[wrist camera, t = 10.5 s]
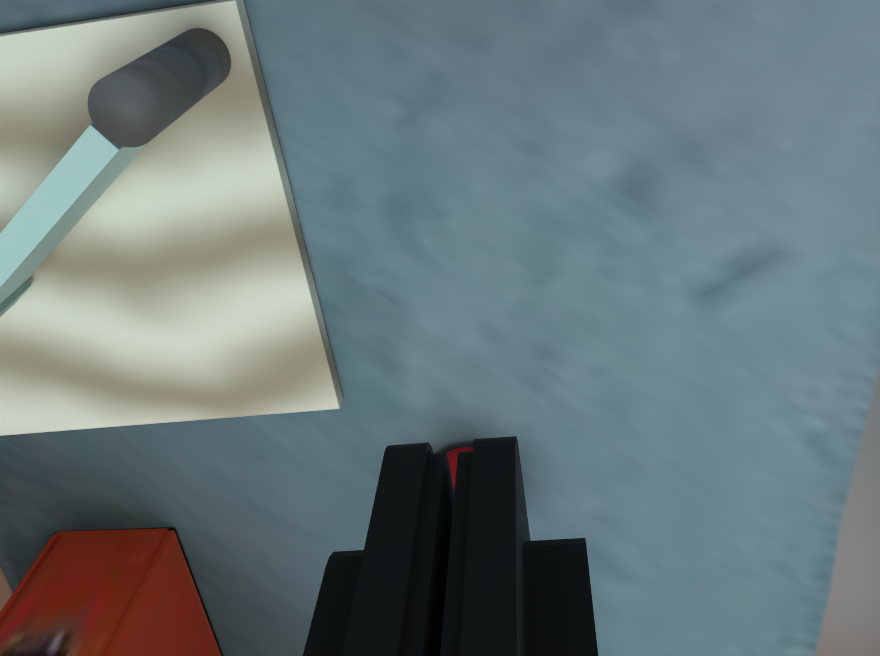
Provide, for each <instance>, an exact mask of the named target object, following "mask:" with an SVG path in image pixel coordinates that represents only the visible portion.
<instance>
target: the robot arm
mask: <svg viewBox="0 0 880 656" xmlns="http://www.w3.org/2000/svg"><path fill="white" fill-rule="evenodd" d="M303 656H598V650H597V641H596V631H595V622H594V613H593V604H592V594H591V585H590V576H589V566H588V557H587V548H586V540H585V538H577V539H559V540H540V541H530V534H529V526H528V518H527V511H526V503H525V495H524V487H523V479H522V471H521V464H520V456H519V448H518V441H517V437H516V436H514V437H500V438H486V439H474V442H473V451H464V452H459V453H458V457H457V468H456V479H455V490H454V487H453V481H452V476H451V470H450V465H449V460H448V456H447V454H446V453H435V454H433V451H432V447H431V445H430V443H417V444H404V445H390V446H387V447H386V449H385V453H384V457H383V462H382V467H381V471H380V476H379V481H378V486H377V491H376V495H375V500H374V505H373V510H372V514H371V519H370V524H369V529H368V533H367V538H366V543H365V548H364V550H357V551H339V552H333V553H332V554H331V556H330V557H329V560H328V562H327V565H326V568H325V572H324V576H323V580H322V584H321V588H320V591H319V595H318V599H317V603H316V607H315V611H314V615H313V619H312V622H311V626H310V630H309V634H308V638H307V642H306V646H305V650H304V653H303Z"/></svg>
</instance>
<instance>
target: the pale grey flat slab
mask: <svg viewBox="0 0 880 656" xmlns="http://www.w3.org/2000/svg"><path fill="white" fill-rule="evenodd" d="M145 145H146V144H145ZM145 145H142V146H139V147H123V146H120V145H117V144H115V143H113V142H111V141H109V140H108V139H106V138H105V137H104V136H103V135H102V134H101V133H100V132H99V131H98V130H97V129H96V127H95V126H94V124H93V123H92V124H90V126H89V127H88V128H87V129H86V130H85V132H84V133H83V134H82V135H81V136H80V138H79V139H78V140H77V141H76V142H75V144H74V145H73V146H72V147H71V148H70V150H69V151H68V152H67V153H66V155H65V156H64V157H63V158H62V159H61V161H60V162H59V163H58V164H57V165H56V167H55V168H54V169H53V170H52V171H51V173H50V174H49V175H48V176H47V177H46V179H45V180H44V181H43V182H42V184H41V185H40V186H39V187H38V188H37V190H36V191H35V192H34V193H33V194H32V196H31V197H30V198H29V199H28V200H27V202H26V203H25V204H24V205H23V206H22V208H21V209H20V210H19V211H18V212H17V214H16V215H15V216H14V217H13V219H12V220H11V221H10V222H9V223H8V225H7V226H6V227H5V228H4V229H3V231H2V232H1V233H0V317H1V316H2V315H3V314H4V313H5V312H6V311H7V310H9V309H10V308H11V307H12V306H13V305H14V304H15V303H16V302H17V301H18V300H19V298H20V297H21V296H22V295H23V294H24V293H25V292H26V291H27V289H28V288H29V287H30V286H31V285H32V284H31V283H29V282H28V281H27V279H28V278H29V277H30V276H31V275H32V274H33V272H34V271H35V270H36V269H37V268H38V267H39V266H40V265H41V263H42V262H43V261H44V260H45V259H46V258H47V257H48V255H49V254H50V253H51V252H52V251H53V250H54V249H55V247H56V246H57V245H58V244H59V243H60V242H61V241H62V240H63V238H64V237H65V236H66V235H67V234H68V233H69V232H70V230H71V229H72V228H73V227H74V226H75V225H76V224H77V223H78V221H79V220H80V219H81V218H82V217H83V216H84V215H85V213H86V212H87V211H88V210H89V209H90V208H91V207H92V205H93V204H94V203H95V202H96V201H97V200H98V199H99V198H100V196H101V195H102V194H103V193H104V192H105V191H106V190H107V188H108V187H109V186H110V185H111V184H112V183H113V182H114V181H115V179H116V178H117V177H118V176H119V175H120V174H121V173H122V171H123V170H124V169H125V168H126V167H127V166H128V165H129V163H130V162H131V161H132V160H133V159H134V158H135V157H136V156H137V154H138V153H139V152H140V151H141V150H142V149H143V148H144V146H145Z"/></svg>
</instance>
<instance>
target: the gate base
mask: <svg viewBox="0 0 880 656" xmlns="http://www.w3.org/2000/svg"><path fill="white" fill-rule="evenodd" d="M92 123H93V124H94V126H95V127H96V129H97V130H98V131H99V132H100V133H101V134H102V135H103V136H104V137H105V138H106V139H108V140H109V141H111V142H113V143H115V144H117V145H120V146H123V147H139V146H142V145H145V144H146V145H145V146H144V148H143V149H142V150H141V151H140V152H139V153H138V154H137V156H136V157H135V158H134V159H133V160H132V161H131V162H130V163H129V165H128V166H127V167H126V168H125V169H124V170H123V171H122V173H121V174H120V175H119V176H118V177H117V178H116V179H115V181H114V182H113V183H112V184H111V185H110V186H109V187H108V188H107V190H106V191H105V192H104V193H103V194H102V195H101V196H100V198H99V199H98V200H97V201H96V202H95V203H94V204H93V205H92V207H91V208H90V209H89V210H88V211H87V212H86V213H85V215H84V216H83V217H82V218H81V219H80V220H79V221H78V223H77V224H76V225H75V226H74V227H73V228H72V229H71V230H70V232H69V233H68V234H67V235H66V236H65V237H64V238H63V240H62V241H61V242H60V243H59V244H58V245H57V246H56V247H55V249H54V250H53V251H52V252H51V253H50V254H49V255H48V257H47V258H46V259H45V260H44V261H43V262H42V263H41V265H40V266H39V267H38V268H37V269H36V270H35V271H34V272H33V274H32V275H31V276H30V277H29V278H28V279H27V281H28V282H29V283H31V284H32V285H31V286H30V287H29V288H28V289H27V291H26V292H25V293H24V294H23V295H22V296H21V297H20V298H19V300H18V301H17V302H16V303H15V304H14V305H13V306H12V307H11V308H10V309H9V310H7V311H6V312H5V313H4V314H3V315H2V316H1V317H0V436H1V435H14V434H27V433H39V432H52V431H64V430H77V429H89V428H102V427H115V426H127V425H140V424H152V423H165V422H178V421H190V420H203V419H215V418H228V417H241V416H253V415H266V414H278V413H291V412H303V411H316V410H329V409H340V406H341V402H342V399H343V395H342V391H341V387H340V383H339V379H338V375H337V371H336V367H335V363H334V359H333V356H332V352H331V348H330V344H329V340H328V336H327V332H326V328H325V324H324V320H323V316H322V312H321V308H320V304H319V300H318V296H317V292H316V288H315V284H314V280H313V276H312V272H311V268H310V264H309V260H308V256H307V252H306V248H305V244H304V240H303V236H302V232H301V228H300V224H299V220H298V216H297V212H296V208H295V204H294V200H293V196H292V192H291V188H290V184H289V180H288V176H287V172H286V168H285V164H284V160H283V156H282V152H281V148H280V144H279V140H278V136H277V132H276V128H275V124H274V120H273V116H272V112H271V108H270V104H269V100H268V96H267V92H266V88H265V84H264V80H263V76H262V72H261V68H260V64H259V60H258V56H257V52H256V48H255V44H254V40H253V36H252V32H251V28H250V24H249V20H248V16H247V12H246V8H245V4H244V0H216V1H210V2H203V3H197V4H190V5H184V6H177V7H171V8H164V9H158V10H151V11H145V12H138V13H132V14H125V15H119V16H112V17H106V18H99V19H93V20H86V21H80V22H73V23H67V24H60V25H54V26H47V27H41V28H34V29H28V30H21V31H14V32H8V33H1V34H0V233H1V232H2V231H3V229H4V228H5V227H6V226H7V225H8V223H9V222H10V221H11V220H12V219H13V217H14V216H15V215H16V214H17V212H18V211H19V210H20V209H21V208H22V206H23V205H24V204H25V203H26V202H27V200H28V199H29V198H30V197H31V196H32V194H33V193H34V192H35V191H36V190H37V188H38V187H39V186H40V185H41V184H42V182H43V181H44V180H45V179H46V177H47V176H48V175H49V174H50V173H51V171H52V170H53V169H54V168H55V167H56V165H57V164H58V163H59V162H60V161H61V159H62V158H63V157H64V156H65V155H66V153H67V152H68V151H69V150H70V148H71V147H72V146H73V145H74V144H75V142H76V141H77V140H78V139H79V138H80V136H81V135H82V134H83V133H84V132H85V130H86V129H87V128H88V127H89V126H90V124H92Z"/></svg>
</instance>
